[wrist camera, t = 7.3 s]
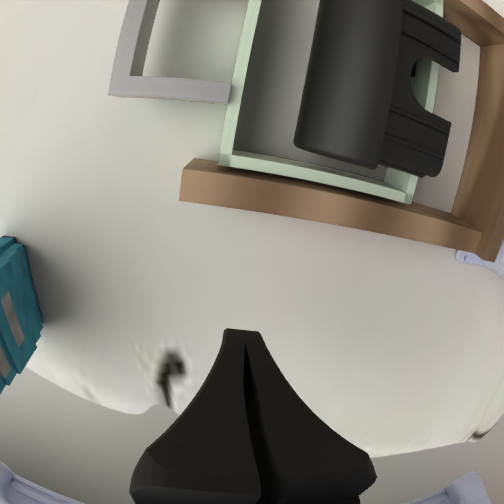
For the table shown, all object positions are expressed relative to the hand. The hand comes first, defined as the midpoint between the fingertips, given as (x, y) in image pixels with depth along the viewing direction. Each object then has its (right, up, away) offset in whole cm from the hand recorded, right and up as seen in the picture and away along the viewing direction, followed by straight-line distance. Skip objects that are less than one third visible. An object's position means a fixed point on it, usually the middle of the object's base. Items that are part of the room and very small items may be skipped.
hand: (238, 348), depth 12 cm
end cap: (+7, +15, +4) cm, 17 cm away
